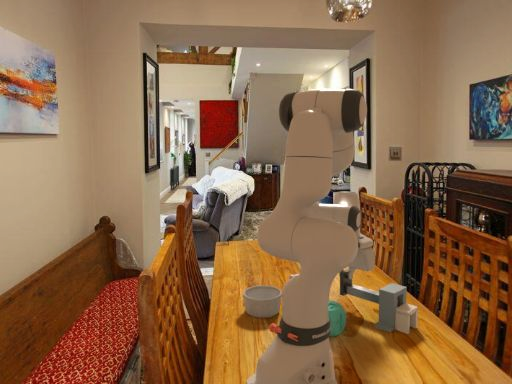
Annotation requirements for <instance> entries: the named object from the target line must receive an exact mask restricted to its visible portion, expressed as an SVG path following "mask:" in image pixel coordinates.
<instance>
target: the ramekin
mask: <svg viewBox="0 0 512 384" xmlns="http://www.w3.org/2000/svg"><path fill="white" fill-rule="evenodd" d="M242 295H243V296H242V297H243V299H244V300H243V302H244V307H245V311H246V313H247V314H248V315H249V316H250V317H253V318H257V319H268V318H272V317H274V316H276V315H277V314H278V313H279V311H280V310H281V304H282V289H280V288H279V287H277V286H273V285H262V284H261V285H260V284H259V285H254V286H250V287H248V288H246V289H244V291H243V292H242Z"/></svg>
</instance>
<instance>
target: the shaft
mask: <svg viewBox="0 0 512 384" xmlns="http://www.w3.org/2000/svg"><path fill="white" fill-rule="evenodd" d="M343 270H344V269H343ZM349 272H350V270H349V268H347V269H345V270H344V271H342V272H340V276H339V295H340V296H343V297H345V296H346V295H349V296H353V297H355V298H359V299H362V300H365V301H368V302H371V303H374V304H378V305H379V290H374V289H371V288H367V287H364V286H361V285H358V284H353V279H351V280H350V279H347V278H346V277H347V276H346V274H347V273H349ZM397 307H399V298H397Z"/></svg>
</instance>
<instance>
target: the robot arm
mask: <svg viewBox="0 0 512 384" xmlns="http://www.w3.org/2000/svg"><path fill="white" fill-rule="evenodd" d="M367 114H368V106H367V102H366V99H365V95H364V94H363V93H362V92H361V91H360V90H359V89H353V88H346V89H339V88H338V89H337V88H333V89H332V88H315V89H307V90H303V91H298V90H295V91H292V92H289V93H287V94H285V95H284V96H283V98H282V99H281V101H280V103H279V108H278V115H279V120H280V121H279V122H280V124H281V126H282V127H283V129H284V130H285V131H287V137H286V138H287V139H286V144H285V155H284V156H285V159H284V160H285V161H284V171H283V172H284V173H283V181H282V182H283V184H282V190H281V193H280V197H279V199H278V201H277V204H276V206H274V208H273V210H272V212H270V214H269V215H268V216H266V217H264V218H263V220H262V221H261V222H260V223H259V226H258V228H257V233H256V234H257V235H256V236H257V237H256V239H257V244H258V246H259V248H260V249H261V251H263V252H265V253H267V254H268V255H270V256H273V257H275V258H276V259H281V260H286V261H289V262H295V263H298V264H299V266H300V270H299V273H298V274H299V275H298V276H295V277H293V278H291V279H290V280H289V279H288V280H287V281H286V282H285V284H284V285H283V288H282V289H281V292H282V297H281V306H282V307H281V309H282V311H281V316H280V319H279V324H276V323H274V322H273V323H271V324H270V325H269V328H268V330H269V331H270V332H271V333H274V334H275V335H276V336H275V337H274V338H273V339H272V341H271V342H270V343H269V344H268V346H267V347H266V349H265V350H264V351H263V353H262V354H261V355H260V356H259V358H258V359H257V362H256V369H255V372H254V373H253V374H252V375H251V376H250V377H248V378H247V379H246V381H245V383H246V384H338V381H337V379H336V372H335V365H334V356H333V349H332V346H331V342H330V337H329V336H330V329H331V325H330V319H329V317H328V306H329V301H330V290H331V287H332V284H333V282H334V279H335V278H336V276H337V275H338V276H339V277H340V272H342V271H344V269H346V268H348V269H349V270H350V272H349V273H347V274H346V276H347V277H346V278H347V279H350V280H351V279H352V280H353V278H354V273H355V272H356V270H361V271H364V272H370V271H373V270H374V269H375V267H376V257H375V256H376V255H375V250H374V248H373V246H374V241H373V239H372V238H370V237H368V236H366V235H364V234H363V233H362V232H361V229H360V228H361V227H362V211H361V208H360V206H361V205H360V198H359V195H358V193H357V192H355V191H348V190H347V191H345V190H344V191H337V192H335V194H334V199H333V203H321V202H320V201H321V200H323V199H325V198H326V197H327V196H328V195H329V193H330V192H331V189H332V177H334V176H337V175H339V174H341V173H343V172H344V171H347V169H348V168H349V167H350V166H351V165H352V163H353V162H354V159H355V136H354V132H356V131H358V130H360V129H361V128H362V126H363V125H364V123H365V121H366V118H367Z"/></svg>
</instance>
